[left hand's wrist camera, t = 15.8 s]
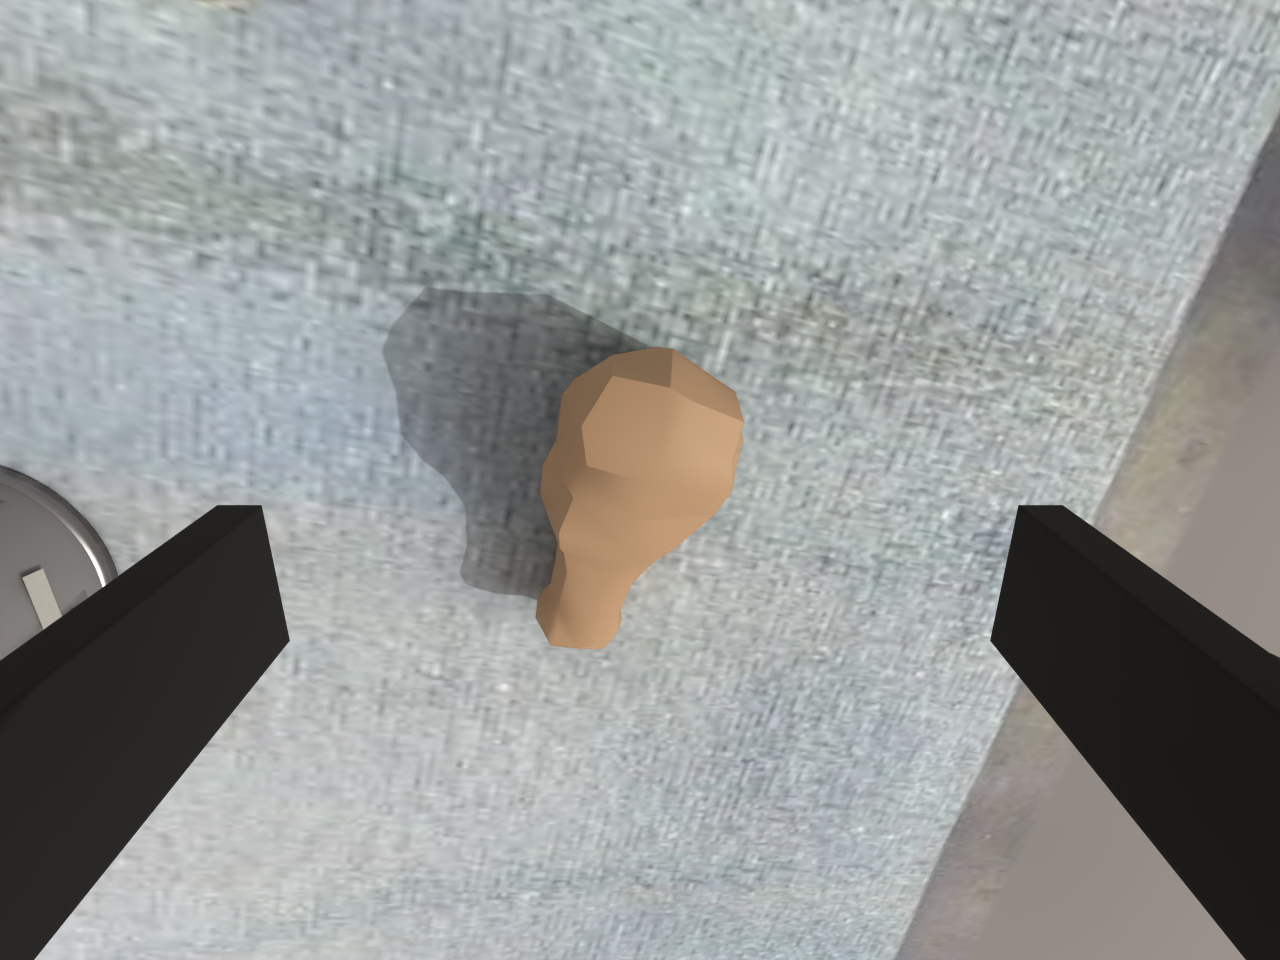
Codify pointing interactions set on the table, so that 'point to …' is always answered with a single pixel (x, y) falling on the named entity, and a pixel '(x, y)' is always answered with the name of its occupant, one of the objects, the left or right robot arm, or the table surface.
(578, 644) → the squash
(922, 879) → the table surface
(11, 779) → the left robot arm
